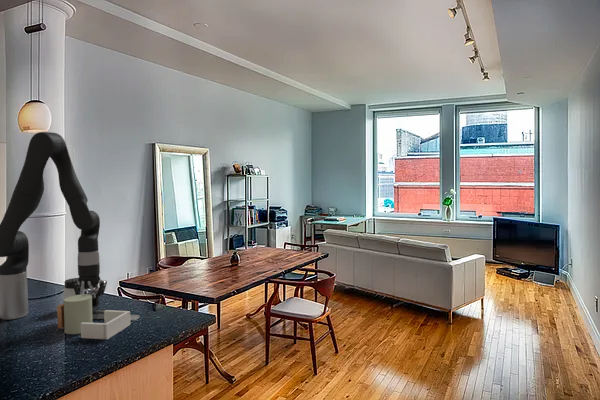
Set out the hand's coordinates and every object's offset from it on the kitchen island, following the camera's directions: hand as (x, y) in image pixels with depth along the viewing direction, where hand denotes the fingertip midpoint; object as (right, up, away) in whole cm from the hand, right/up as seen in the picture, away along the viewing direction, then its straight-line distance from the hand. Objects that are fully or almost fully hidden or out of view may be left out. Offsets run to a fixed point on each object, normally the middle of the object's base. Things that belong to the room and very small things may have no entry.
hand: (90, 306), depth 165 cm
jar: (-11, -4, +11) cm, 16 cm away
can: (+3, -5, -13) cm, 14 cm away
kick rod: (+3, -4, -7) cm, 8 cm away
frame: (+12, -5, -15) cm, 20 cm away
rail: (+6, -4, -1) cm, 8 cm away
